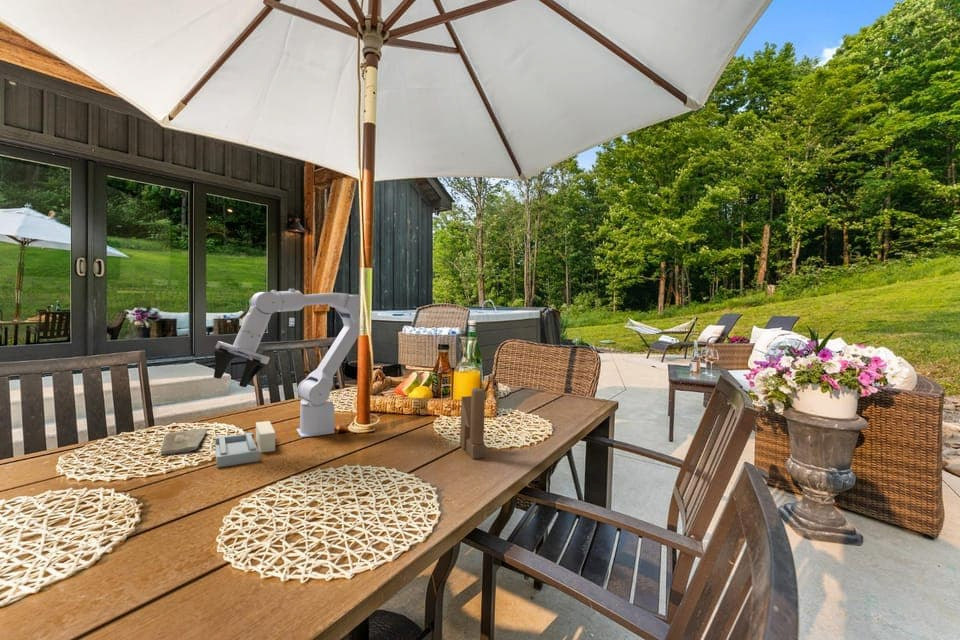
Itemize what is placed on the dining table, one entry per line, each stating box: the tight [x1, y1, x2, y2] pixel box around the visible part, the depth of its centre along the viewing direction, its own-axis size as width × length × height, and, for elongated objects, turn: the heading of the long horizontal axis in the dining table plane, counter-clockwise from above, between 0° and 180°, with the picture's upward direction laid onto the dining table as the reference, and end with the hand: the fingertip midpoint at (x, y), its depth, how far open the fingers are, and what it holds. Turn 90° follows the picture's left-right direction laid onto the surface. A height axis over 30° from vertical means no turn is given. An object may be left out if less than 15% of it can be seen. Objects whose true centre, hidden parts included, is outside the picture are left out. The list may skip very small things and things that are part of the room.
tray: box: [214, 432, 261, 468], centre depth 110 cm, size 9×16×3 cm, turn 33°
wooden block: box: [459, 387, 487, 460], centre depth 117 cm, size 4×11×18 cm, turn 21°
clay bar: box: [255, 420, 276, 454], centre depth 117 cm, size 12×4×5 cm, turn 33°
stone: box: [160, 428, 208, 455], centre depth 116 cm, size 18×3×10 cm
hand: (229, 382), depth 112 cm, fingers open, 7 cm apart
